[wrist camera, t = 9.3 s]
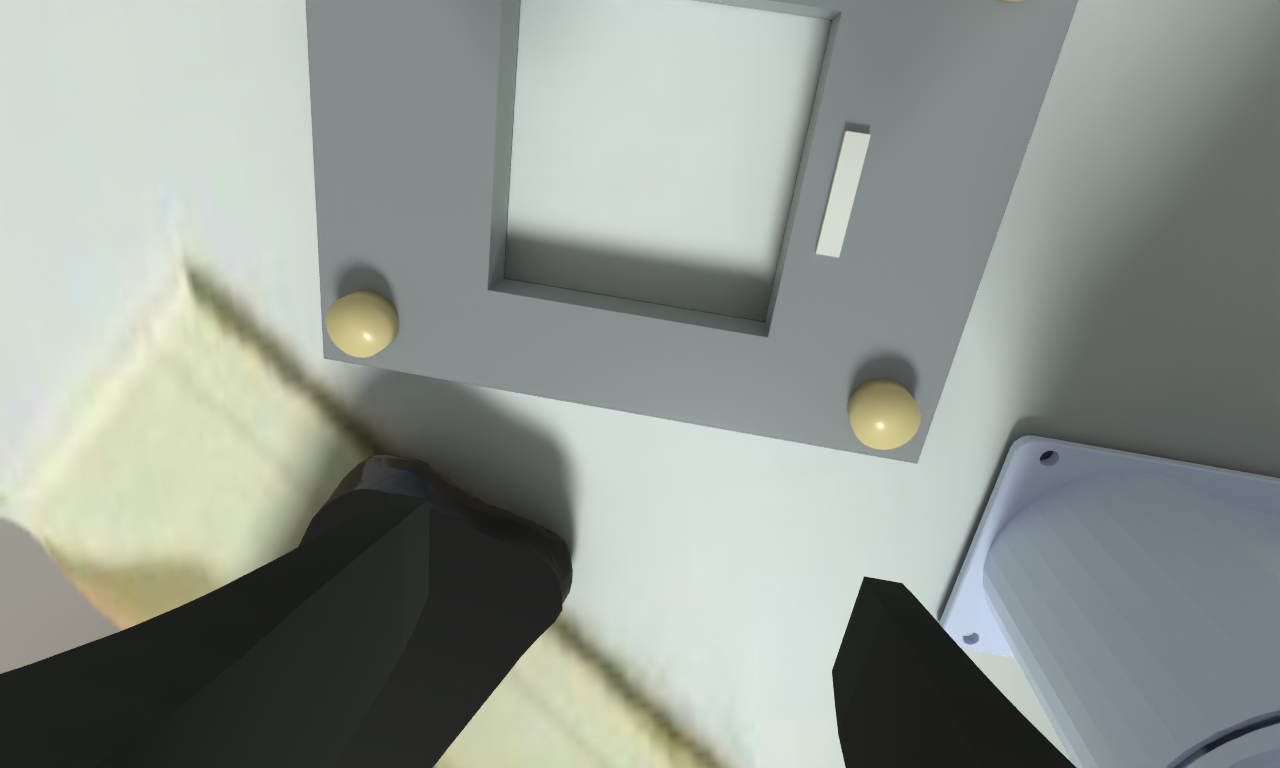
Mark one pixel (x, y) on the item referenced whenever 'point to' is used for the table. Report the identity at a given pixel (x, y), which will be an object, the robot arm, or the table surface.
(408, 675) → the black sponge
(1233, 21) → the table surface
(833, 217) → the cover plate
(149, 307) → the table surface
